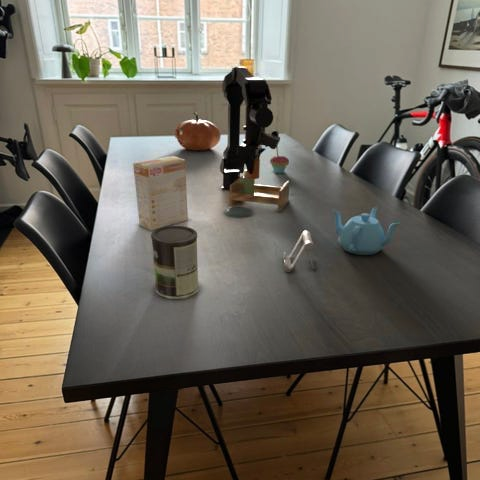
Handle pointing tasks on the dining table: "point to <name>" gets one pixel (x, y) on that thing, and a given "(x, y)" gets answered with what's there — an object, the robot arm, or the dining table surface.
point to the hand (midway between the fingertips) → (252, 172)
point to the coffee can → (175, 261)
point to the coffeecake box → (161, 192)
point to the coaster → (238, 212)
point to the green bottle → (247, 185)
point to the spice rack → (260, 194)
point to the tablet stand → (306, 246)
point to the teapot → (363, 233)
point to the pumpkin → (197, 134)
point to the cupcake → (279, 163)
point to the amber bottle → (254, 170)
